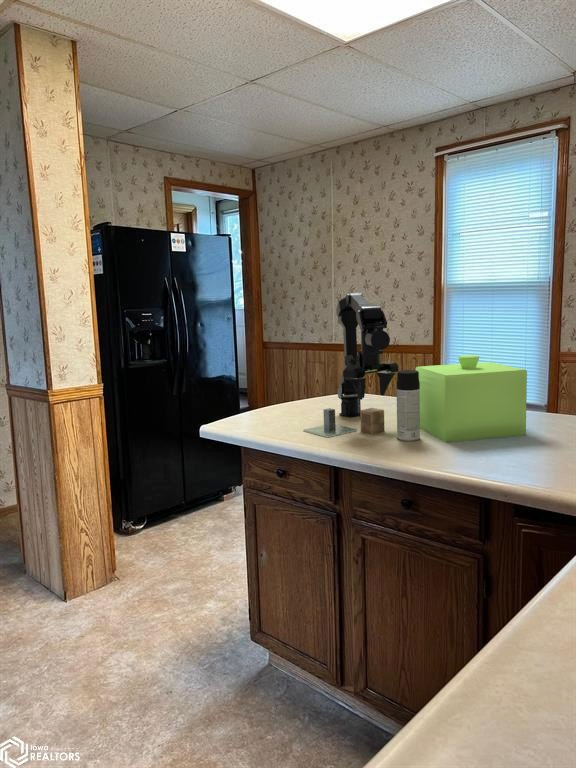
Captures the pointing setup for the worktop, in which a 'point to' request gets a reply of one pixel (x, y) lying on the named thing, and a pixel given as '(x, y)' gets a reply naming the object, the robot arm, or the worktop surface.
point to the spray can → (408, 405)
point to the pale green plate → (329, 426)
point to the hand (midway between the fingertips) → (371, 397)
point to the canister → (472, 400)
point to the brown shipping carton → (372, 420)
